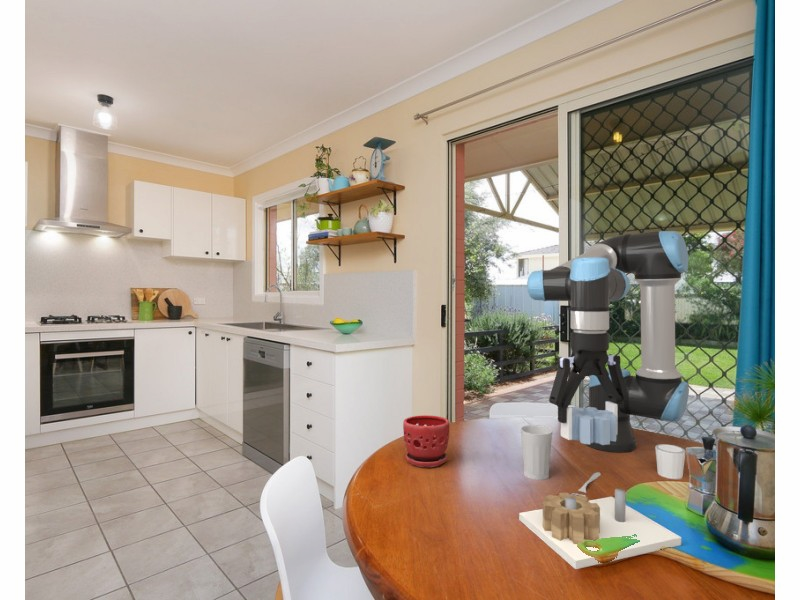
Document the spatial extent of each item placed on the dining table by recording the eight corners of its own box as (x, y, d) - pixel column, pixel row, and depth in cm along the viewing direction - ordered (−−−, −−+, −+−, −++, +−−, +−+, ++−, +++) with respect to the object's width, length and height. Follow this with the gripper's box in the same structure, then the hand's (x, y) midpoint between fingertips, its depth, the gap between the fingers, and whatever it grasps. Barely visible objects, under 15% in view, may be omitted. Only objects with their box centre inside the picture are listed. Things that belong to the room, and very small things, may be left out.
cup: (554, 482, 116) (554, 435, 116) (521, 480, 118) (521, 433, 117) (550, 470, 124) (550, 425, 124) (519, 467, 126) (519, 424, 125)
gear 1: (593, 427, 104) (593, 405, 104) (627, 442, 94) (628, 417, 94) (552, 431, 101) (552, 408, 101) (583, 447, 91) (583, 422, 91)
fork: (607, 471, 123) (607, 465, 123) (579, 505, 104) (579, 498, 104) (595, 469, 125) (595, 462, 125) (565, 502, 106) (565, 494, 106)
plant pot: (457, 466, 127) (457, 423, 127) (413, 473, 123) (413, 429, 122) (437, 450, 139) (437, 411, 139) (397, 456, 135) (396, 416, 134)
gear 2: (560, 511, 98) (561, 488, 98) (609, 530, 90) (609, 505, 90) (532, 528, 92) (532, 503, 91) (582, 551, 83) (582, 523, 83)
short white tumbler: (651, 475, 120) (651, 448, 120) (658, 467, 125) (659, 441, 125) (682, 482, 115) (682, 454, 115) (688, 474, 120) (688, 447, 120)
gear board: (611, 503, 105) (611, 470, 105) (681, 545, 88) (681, 506, 88) (519, 519, 98) (519, 485, 97) (575, 569, 81) (575, 527, 80)
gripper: (621, 327, 103) (621, 425, 104) (531, 331, 97) (531, 434, 98) (648, 330, 96) (647, 435, 97) (552, 334, 90) (551, 446, 91)
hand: (589, 435), depth 97 cm, fingers closed on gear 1, 10 cm apart
